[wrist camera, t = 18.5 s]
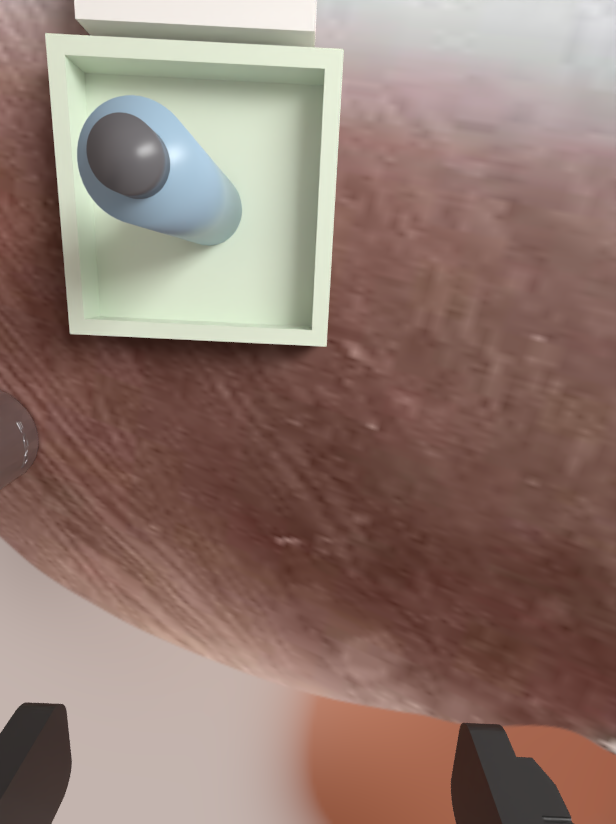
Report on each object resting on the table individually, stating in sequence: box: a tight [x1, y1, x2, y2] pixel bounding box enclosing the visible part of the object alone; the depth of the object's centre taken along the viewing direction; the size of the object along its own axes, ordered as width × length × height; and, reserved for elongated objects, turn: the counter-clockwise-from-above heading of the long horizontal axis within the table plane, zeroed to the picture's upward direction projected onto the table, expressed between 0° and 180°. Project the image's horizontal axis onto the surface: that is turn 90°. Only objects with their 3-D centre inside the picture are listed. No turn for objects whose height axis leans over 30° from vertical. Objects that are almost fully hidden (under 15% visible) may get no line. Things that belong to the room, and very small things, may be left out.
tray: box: [45, 33, 344, 346], centre depth 37 cm, size 20×20×4 cm
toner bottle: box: [77, 95, 242, 246], centre depth 30 cm, size 6×6×18 cm
